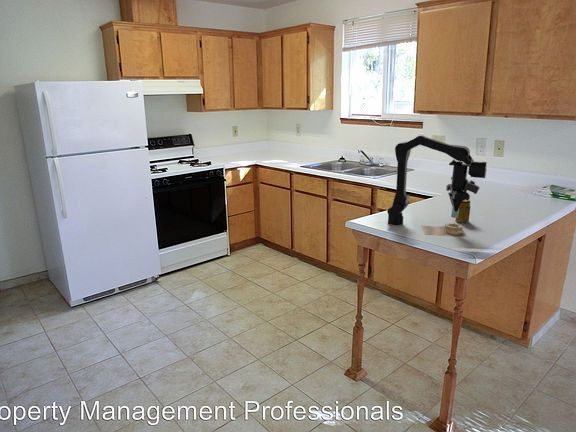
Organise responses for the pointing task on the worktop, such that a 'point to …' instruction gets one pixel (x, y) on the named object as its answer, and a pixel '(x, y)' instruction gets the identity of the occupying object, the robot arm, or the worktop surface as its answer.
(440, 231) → the board
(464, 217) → the condiment
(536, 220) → the worktop surface
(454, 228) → the bead
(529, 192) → the worktop surface
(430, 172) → the worktop surface
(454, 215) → the dowel
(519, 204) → the worktop surface
